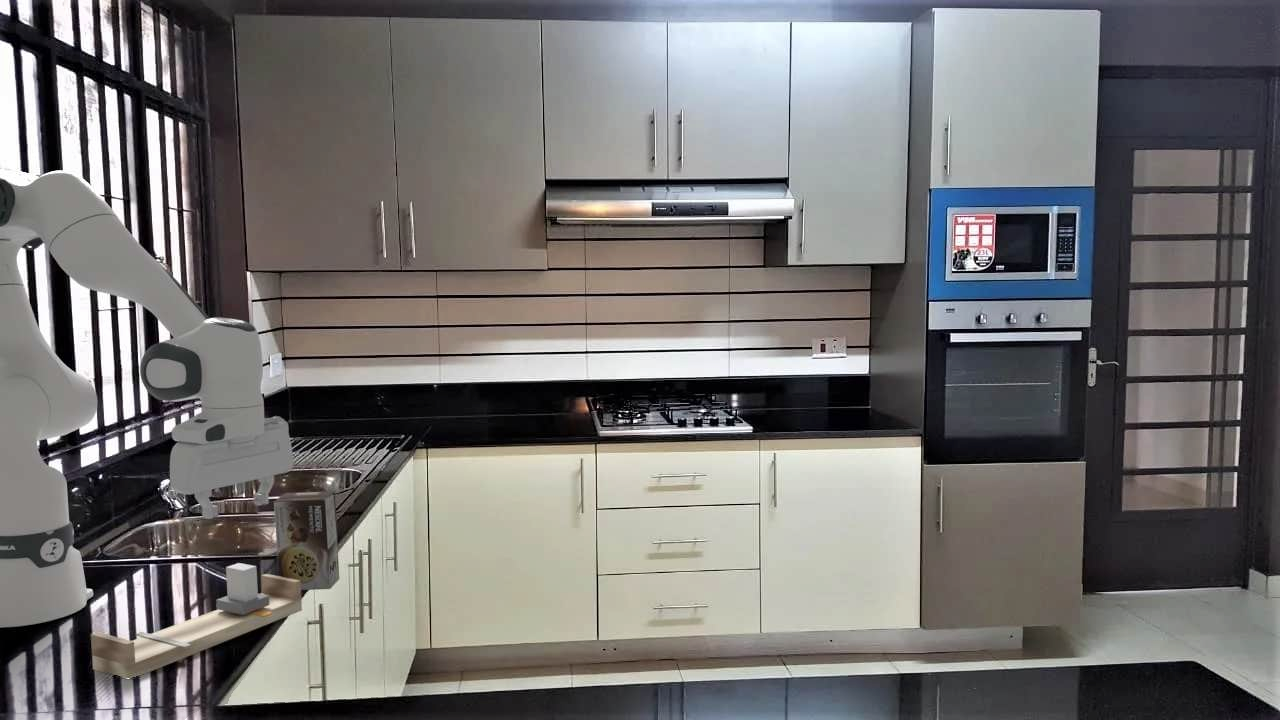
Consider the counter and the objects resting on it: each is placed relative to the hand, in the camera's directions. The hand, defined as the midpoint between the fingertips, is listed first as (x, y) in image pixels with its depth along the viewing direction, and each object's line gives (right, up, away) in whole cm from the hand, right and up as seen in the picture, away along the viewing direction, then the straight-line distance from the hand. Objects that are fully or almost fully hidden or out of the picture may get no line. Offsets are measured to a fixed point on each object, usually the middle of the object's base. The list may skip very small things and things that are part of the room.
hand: (236, 510), depth 150 cm
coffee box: (+5, -16, +20) cm, 26 cm away
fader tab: (0, -15, +1) cm, 15 cm away
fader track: (-3, -18, -5) cm, 19 cm away
